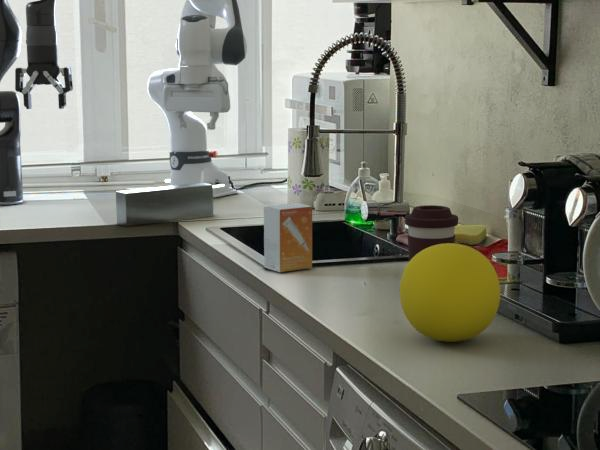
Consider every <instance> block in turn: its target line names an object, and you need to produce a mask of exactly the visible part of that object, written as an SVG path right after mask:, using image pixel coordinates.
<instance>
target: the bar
mask: <svg viewBox="0 0 600 450" xmlns="http://www.w3.org/2000/svg"><path fill="white" fill-rule="evenodd" d="M115 209H116V211H115V212H116V225H118V226H119V225H120V226H123V227H134V226H143V225H150V224H151V225H152V224H159V223H169V222H176V221H182V220H183V221H184V220H185V221H186V220H192V219H193V220H194V219H200V218H201V219H202V218H208V217H214V198H213V185H211V184H206V183H195V184H185V185H175V186H169V185H166V186H157V187H156V186H155V187H145V188H135V189H125V190H116V191H115Z"/></svg>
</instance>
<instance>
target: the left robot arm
mask: <svg viewBox="0 0 600 450" xmlns="http://www.w3.org/2000/svg"><path fill="white" fill-rule="evenodd" d="M56 1H57V0H34V1H30V2H27V4H26V5H25V19H26V23H25V24H26V30H25V31H26V33H25V34H26V35H25V44H26V59H27V61H26V62H27V67H26V68H24V67H16V68H15V69H14V72H15V73H14V79H15V80H14V81H15V82H14V88H15V89H14V90H15V91H14V90H0V123H1V124H3V123H4V127H3V128H2V129H0V206H11V205H21V204H23V203H24V202H25V201H24V187H23V170H22V169H23V168H22V167H23V166H22V151H21V136H22V135H21V131H22V130H21V101H20V97H19V95H18V93H21V94H22V96H23V106H24V108H26V110H32V109H33V107H32V106H33V105H32V94H31V92H32V90H33V88H35V87H36V85H37V86H43V85H46V86H49V85H51V86H52V87H53V88H55V90H56V91H57V92H58V94H57V99H58V100H57V101H58V109H59V110H64V109H65V107H67V93H69V92H72V91H73V90H74V85H73V76H72V68H71V67H70V66H66V67H65V66H64V67H61V68H60V66H59V52H58V34H57V29H56V12H55V10H56ZM22 29H23V28H22V27H21V23H20V22H19V20H18V18H17V16H16V15H15V13H14V11H13V10H12V8H11V6H10V4H9V1H8V0H0V83H1V82H2V80H3V78H4V77H5V75H6V74H7V73H8V72H9V70H10V69H11V68H12V66H13V65H14V63H15V62H16V61H17V60H18V58H19V56H20V53H21V49H22V38H23V30H22ZM26 74H27V76H28V77H29V79H28V80H27V82H26V83H25V85H24V77H25V76H26ZM60 74H61V76H62V77H64V78H63V79H64V86H63V84H62V82H61V80H59V78H58V77H59V75H60Z"/></svg>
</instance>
